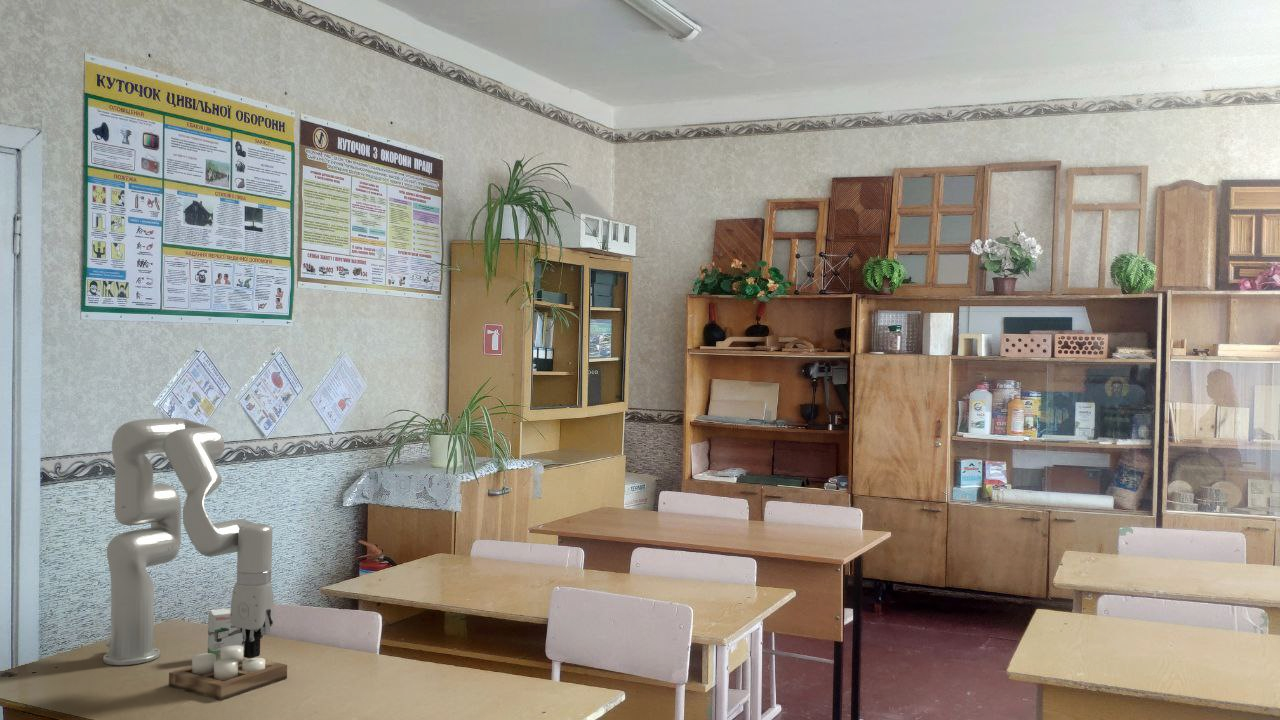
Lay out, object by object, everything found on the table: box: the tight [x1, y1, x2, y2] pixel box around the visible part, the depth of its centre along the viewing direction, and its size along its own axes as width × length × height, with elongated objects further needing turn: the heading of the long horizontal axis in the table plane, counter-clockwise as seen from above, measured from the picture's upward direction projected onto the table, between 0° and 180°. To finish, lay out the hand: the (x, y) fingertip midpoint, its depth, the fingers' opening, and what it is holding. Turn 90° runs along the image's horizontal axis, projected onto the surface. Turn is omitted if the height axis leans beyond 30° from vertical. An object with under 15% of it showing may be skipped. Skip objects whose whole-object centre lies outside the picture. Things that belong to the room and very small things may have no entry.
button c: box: [214, 658, 238, 680], centre depth 229 cm, size 5×5×4 cm
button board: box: [168, 655, 288, 701], centre depth 234 cm, size 18×18×3 cm
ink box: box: [207, 607, 245, 659], centre depth 254 cm, size 9×5×12 cm, turn 123°
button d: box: [242, 657, 266, 673], centre depth 236 cm, size 5×5×4 cm
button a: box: [191, 652, 216, 675], centre depth 233 cm, size 5×5×4 cm
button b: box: [220, 645, 243, 665], centre depth 240 cm, size 5×5×4 cm
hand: (251, 656), depth 236 cm, fingers closed
